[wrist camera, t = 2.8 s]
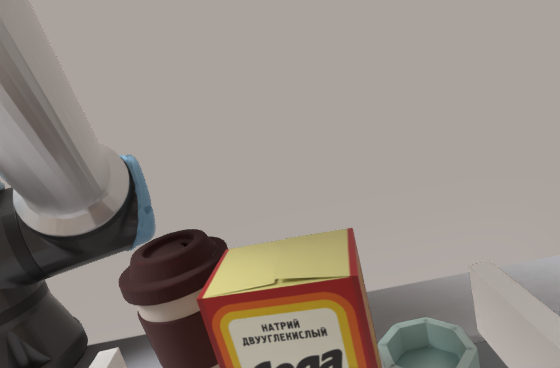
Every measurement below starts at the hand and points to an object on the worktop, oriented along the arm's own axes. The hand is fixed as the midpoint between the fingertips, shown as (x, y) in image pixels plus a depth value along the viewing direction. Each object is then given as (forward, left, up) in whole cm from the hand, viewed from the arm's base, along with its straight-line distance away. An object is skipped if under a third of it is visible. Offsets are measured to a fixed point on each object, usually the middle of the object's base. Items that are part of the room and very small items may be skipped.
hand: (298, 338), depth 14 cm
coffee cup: (-20, -11, -18) cm, 29 cm away
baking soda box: (-11, -1, -18) cm, 21 cm away
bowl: (-14, +8, -17) cm, 24 cm away
